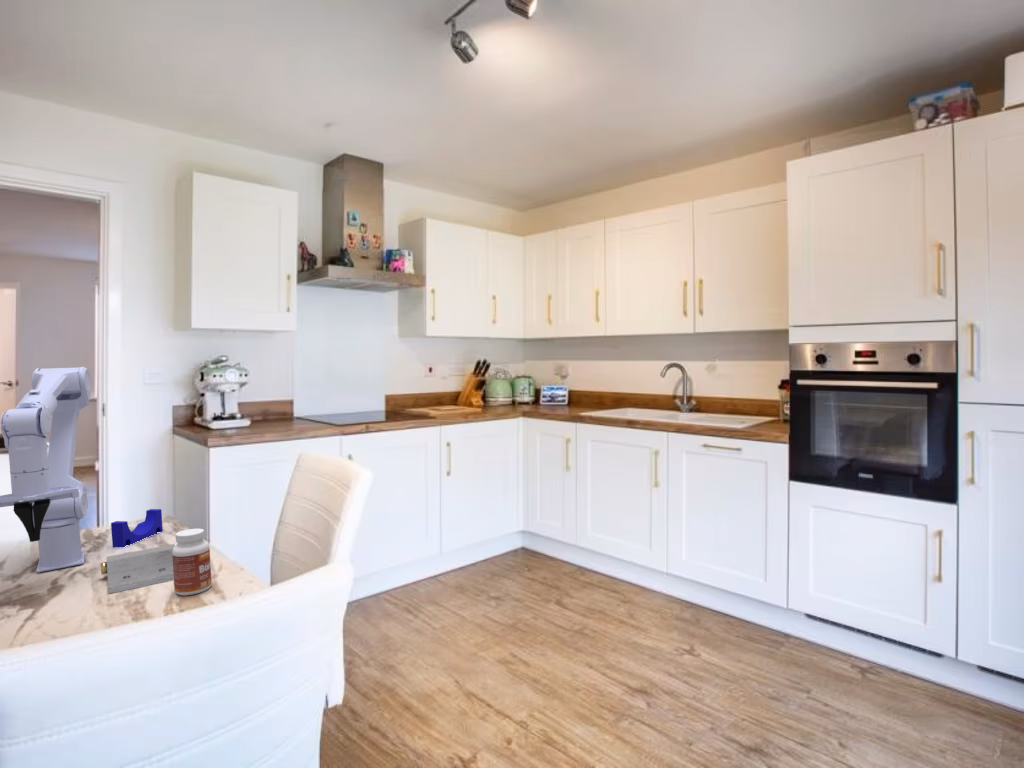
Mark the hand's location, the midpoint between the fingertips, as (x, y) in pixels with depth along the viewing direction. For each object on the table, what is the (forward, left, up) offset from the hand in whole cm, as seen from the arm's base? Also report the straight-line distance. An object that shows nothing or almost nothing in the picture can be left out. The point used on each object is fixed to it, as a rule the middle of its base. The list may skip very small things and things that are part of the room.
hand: (35, 540), depth 113 cm
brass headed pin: (+3, +16, -8) cm, 19 cm away
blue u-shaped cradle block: (-24, +17, -10) cm, 31 cm away
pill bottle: (+21, +24, -10) cm, 33 cm away
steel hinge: (+3, +17, -9) cm, 20 cm away
